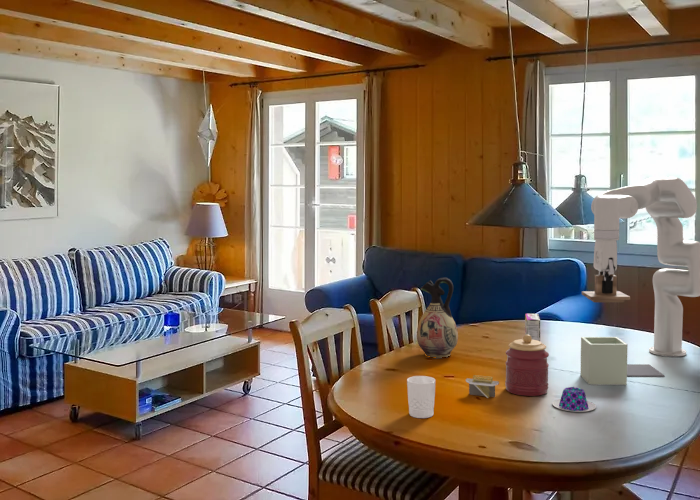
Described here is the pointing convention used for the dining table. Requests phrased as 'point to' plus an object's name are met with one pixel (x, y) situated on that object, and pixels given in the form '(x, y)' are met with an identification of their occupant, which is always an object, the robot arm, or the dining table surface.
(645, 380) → the dining table surface
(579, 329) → the dining table surface
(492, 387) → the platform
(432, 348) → the ceramic jug
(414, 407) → the white cup
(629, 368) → the mat
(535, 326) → the candy bar box
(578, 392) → the pudding
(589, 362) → the box
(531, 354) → the canister
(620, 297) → the lid
